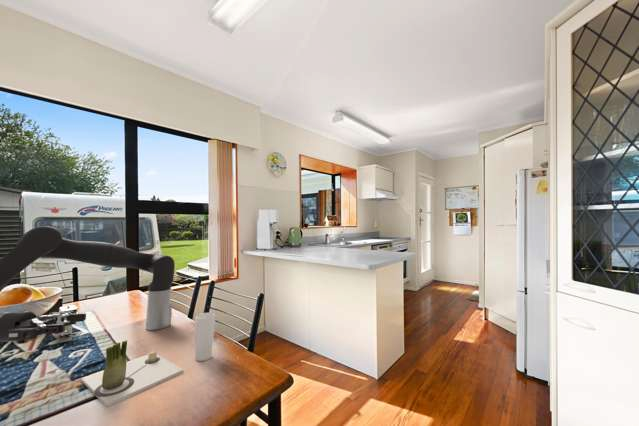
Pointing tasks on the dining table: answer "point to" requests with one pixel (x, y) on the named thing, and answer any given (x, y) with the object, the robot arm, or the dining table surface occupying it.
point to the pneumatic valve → (64, 309)
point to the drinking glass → (204, 335)
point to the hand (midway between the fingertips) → (75, 322)
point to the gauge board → (133, 378)
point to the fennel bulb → (115, 366)
